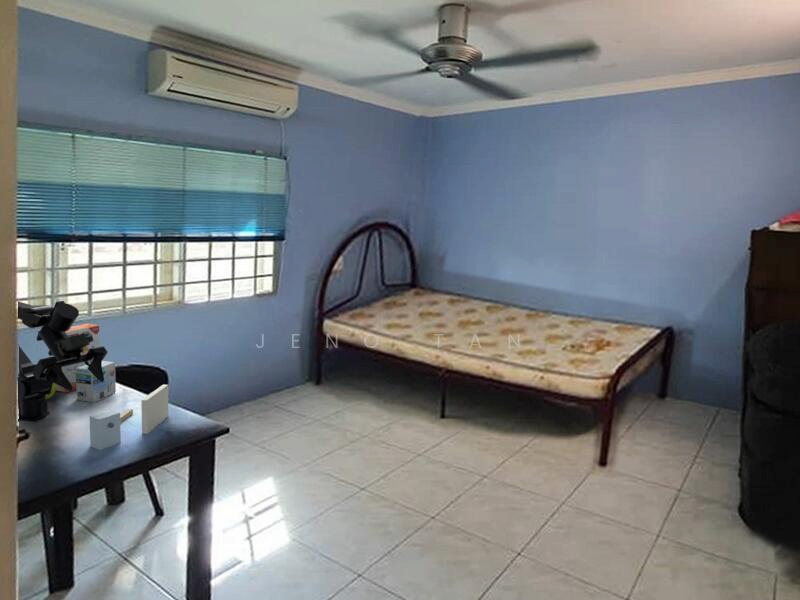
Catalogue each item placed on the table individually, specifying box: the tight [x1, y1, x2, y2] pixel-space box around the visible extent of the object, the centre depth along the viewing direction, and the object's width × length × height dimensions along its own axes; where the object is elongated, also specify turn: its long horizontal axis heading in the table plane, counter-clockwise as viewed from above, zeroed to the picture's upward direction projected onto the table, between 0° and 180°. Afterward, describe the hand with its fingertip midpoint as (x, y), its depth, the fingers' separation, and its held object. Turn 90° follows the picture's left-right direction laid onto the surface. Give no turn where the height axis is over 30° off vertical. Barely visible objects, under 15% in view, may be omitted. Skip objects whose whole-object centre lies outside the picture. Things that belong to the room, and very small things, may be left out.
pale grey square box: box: [89, 409, 122, 451], centre depth 151 cm, size 5×6×8 cm
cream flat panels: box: [120, 384, 169, 435], centre depth 166 cm, size 12×14×10 cm
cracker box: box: [52, 323, 100, 393], centre depth 194 cm, size 14×6×21 cm, turn 160°
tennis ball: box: [45, 383, 56, 400], centre depth 181 cm, size 7×7×7 cm
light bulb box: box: [76, 360, 117, 403], centre depth 186 cm, size 11×7×11 cm, turn 168°
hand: (87, 385), depth 155 cm, fingers open, 9 cm apart
